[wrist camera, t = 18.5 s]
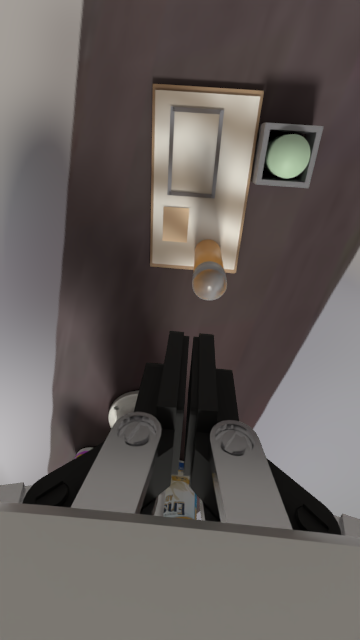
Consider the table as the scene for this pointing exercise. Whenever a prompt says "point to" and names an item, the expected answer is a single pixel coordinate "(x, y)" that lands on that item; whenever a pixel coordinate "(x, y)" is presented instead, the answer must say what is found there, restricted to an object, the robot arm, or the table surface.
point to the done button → (287, 155)
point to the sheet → (200, 170)
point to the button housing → (301, 180)
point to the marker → (208, 271)
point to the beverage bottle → (180, 497)
